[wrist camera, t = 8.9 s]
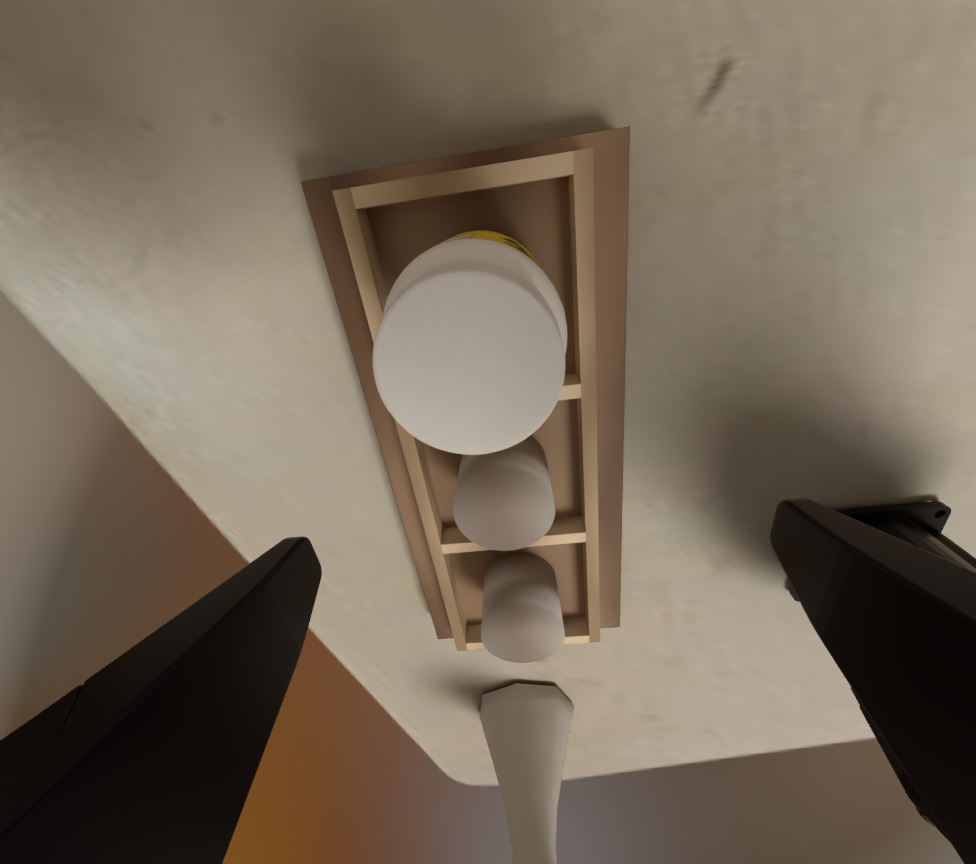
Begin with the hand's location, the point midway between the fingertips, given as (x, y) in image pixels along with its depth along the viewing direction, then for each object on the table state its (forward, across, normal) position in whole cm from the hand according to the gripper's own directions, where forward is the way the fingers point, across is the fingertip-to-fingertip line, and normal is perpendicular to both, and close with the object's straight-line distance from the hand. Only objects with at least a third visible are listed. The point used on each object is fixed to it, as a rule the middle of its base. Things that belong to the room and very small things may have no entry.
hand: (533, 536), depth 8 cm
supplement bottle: (+10, +1, -3) cm, 11 cm away
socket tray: (+12, +1, +5) cm, 13 cm away
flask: (+12, +2, +28) cm, 30 cm away
